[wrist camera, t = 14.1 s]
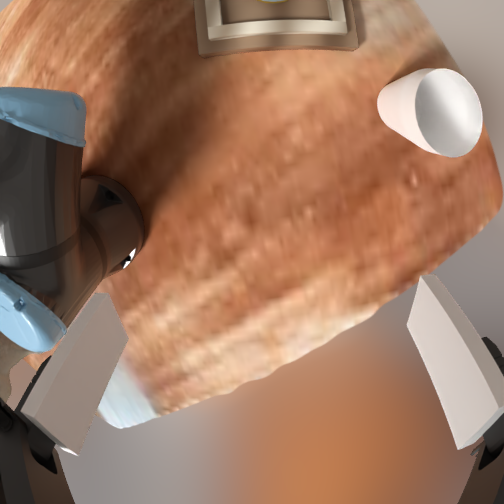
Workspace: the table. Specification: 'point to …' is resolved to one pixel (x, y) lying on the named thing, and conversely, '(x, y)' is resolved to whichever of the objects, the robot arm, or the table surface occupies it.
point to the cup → (433, 111)
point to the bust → (9, 362)
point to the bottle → (272, 1)
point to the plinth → (273, 26)
